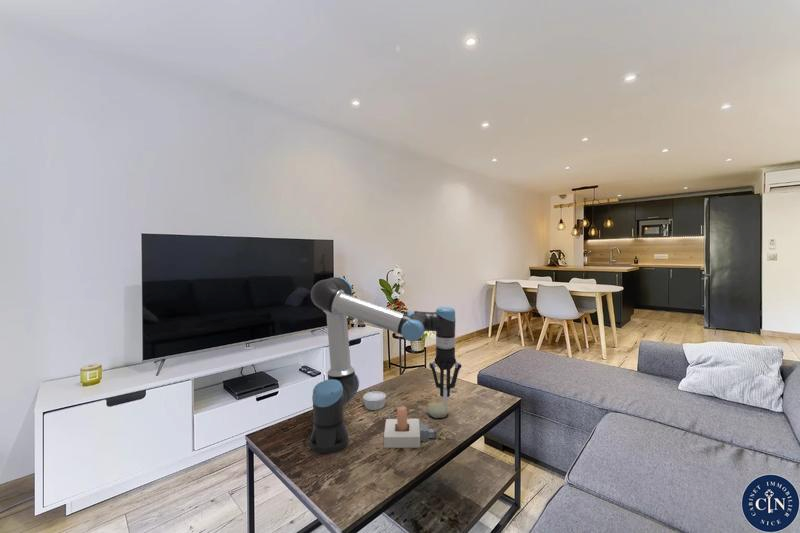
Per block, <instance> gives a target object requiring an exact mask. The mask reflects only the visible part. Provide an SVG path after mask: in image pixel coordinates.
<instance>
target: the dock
mask: <svg viewBox="0 0 800 533" xmlns="http://www.w3.org/2000/svg"><path fill="white" fill-rule="evenodd" d="M419 424H420V418H407V431H398V429H397V418H386V419H385V426H384V433H383V449H394V448H395V449H396V448H397V449H400V448H401V449H402V448H403V449H405V448H406V449H407V448H409V449H410V448H413V449H414V448H416V449H417V448H418V449H419V448H421V441H420V427H419Z"/></svg>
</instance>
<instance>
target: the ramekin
mask: <svg viewBox="0 0 800 533" xmlns="http://www.w3.org/2000/svg"><path fill="white" fill-rule="evenodd" d="M386 399H387V395H386V393H385V392H383V391H380V390H379V391H368V392H366V393H365V394H363V396H362V400H363V403H364V407H365V408H366V409H367V410H369V411H379V410H381V409H383V408H384V406H385V404H386Z"/></svg>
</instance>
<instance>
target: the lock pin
mask: <svg viewBox="0 0 800 533" xmlns="http://www.w3.org/2000/svg"><path fill="white" fill-rule="evenodd" d="M429 439H438V433H437V427H436V426H434V427H433V428H429Z"/></svg>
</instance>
